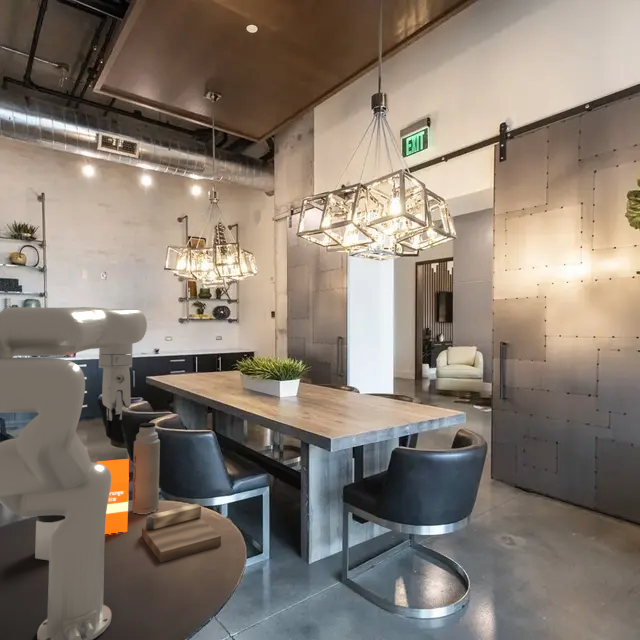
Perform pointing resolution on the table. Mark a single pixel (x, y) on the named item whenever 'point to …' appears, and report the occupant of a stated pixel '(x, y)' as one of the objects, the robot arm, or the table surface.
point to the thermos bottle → (146, 469)
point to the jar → (45, 534)
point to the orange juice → (117, 496)
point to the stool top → (181, 539)
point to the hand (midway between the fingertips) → (113, 436)
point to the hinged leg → (173, 516)
